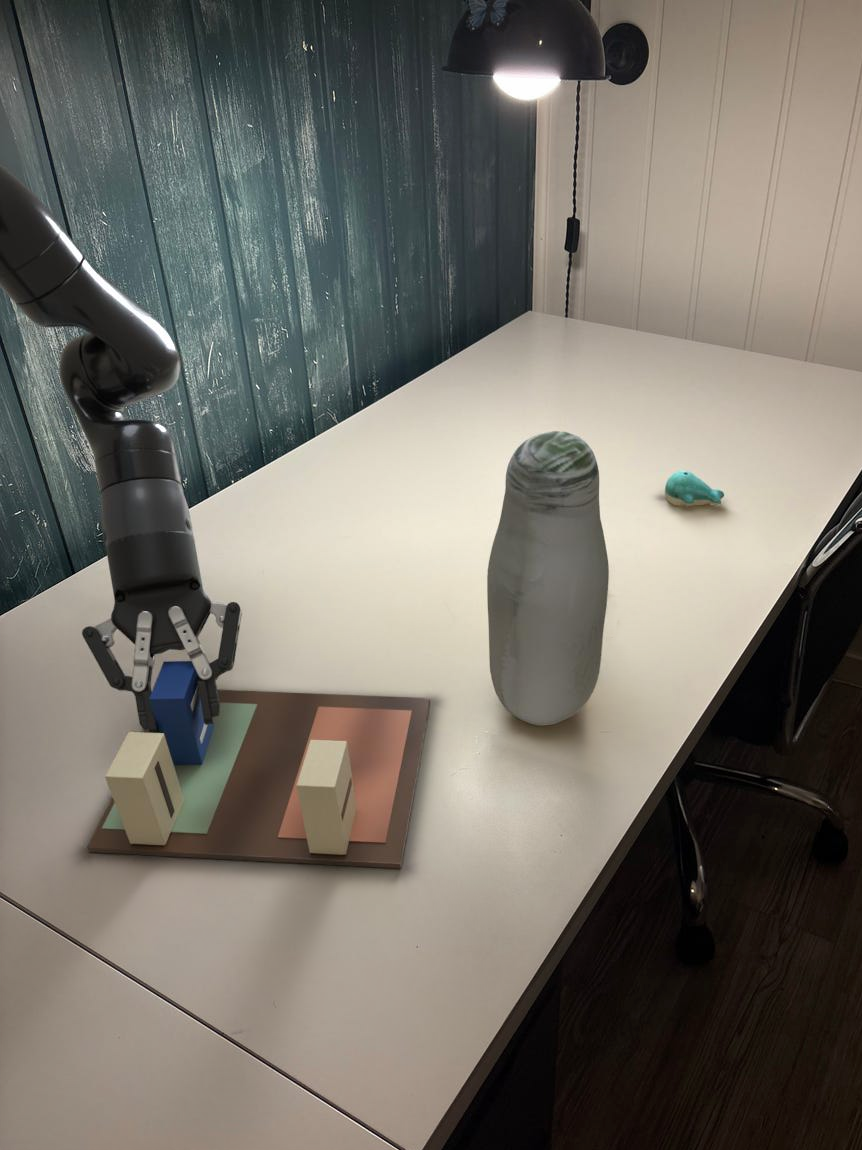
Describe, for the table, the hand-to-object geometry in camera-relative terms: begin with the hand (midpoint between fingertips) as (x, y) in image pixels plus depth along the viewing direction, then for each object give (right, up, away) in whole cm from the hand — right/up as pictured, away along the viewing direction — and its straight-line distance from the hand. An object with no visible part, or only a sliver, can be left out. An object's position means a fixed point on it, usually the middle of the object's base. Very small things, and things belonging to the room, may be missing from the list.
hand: (182, 728), depth 83 cm
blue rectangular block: (0, -2, +4) cm, 5 cm away
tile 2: (+14, -8, -4) cm, 17 cm away
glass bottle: (+32, +1, +9) cm, 33 cm away
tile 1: (-1, -8, -3) cm, 8 cm away
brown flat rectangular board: (+7, -4, +2) cm, 9 cm away
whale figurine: (+53, +25, +39) cm, 70 cm away
